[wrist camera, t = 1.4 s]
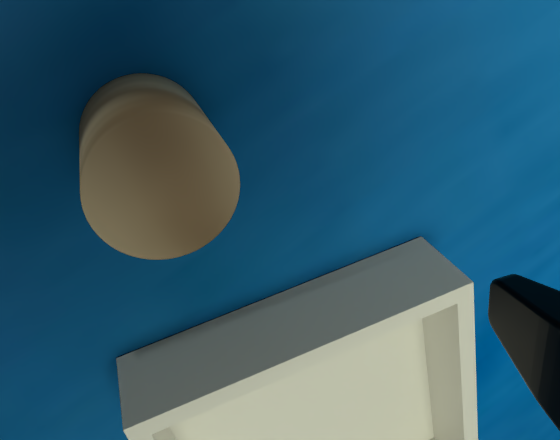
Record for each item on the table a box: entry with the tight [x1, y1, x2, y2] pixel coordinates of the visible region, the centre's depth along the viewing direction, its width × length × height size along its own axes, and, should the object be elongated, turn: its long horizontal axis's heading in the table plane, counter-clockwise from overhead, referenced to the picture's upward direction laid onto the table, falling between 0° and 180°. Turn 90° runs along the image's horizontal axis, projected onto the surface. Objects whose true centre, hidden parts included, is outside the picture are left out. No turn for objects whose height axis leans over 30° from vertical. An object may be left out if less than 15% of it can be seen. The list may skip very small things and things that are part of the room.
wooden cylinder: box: [79, 73, 240, 260], centre depth 17 cm, size 4×4×5 cm
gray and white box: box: [116, 237, 478, 440], centre depth 27 cm, size 15×15×4 cm
